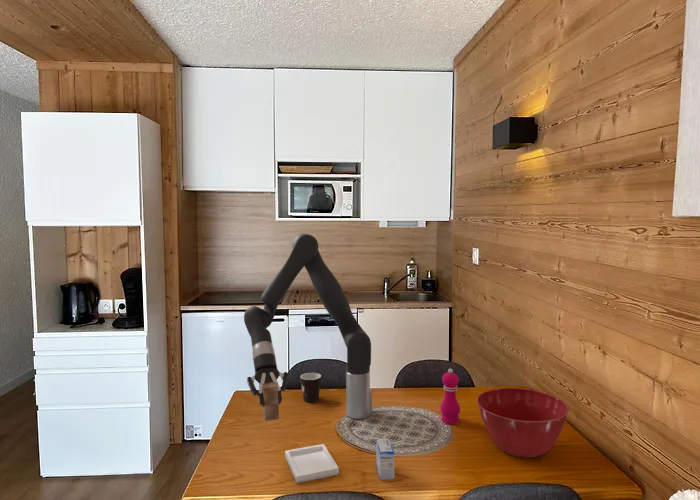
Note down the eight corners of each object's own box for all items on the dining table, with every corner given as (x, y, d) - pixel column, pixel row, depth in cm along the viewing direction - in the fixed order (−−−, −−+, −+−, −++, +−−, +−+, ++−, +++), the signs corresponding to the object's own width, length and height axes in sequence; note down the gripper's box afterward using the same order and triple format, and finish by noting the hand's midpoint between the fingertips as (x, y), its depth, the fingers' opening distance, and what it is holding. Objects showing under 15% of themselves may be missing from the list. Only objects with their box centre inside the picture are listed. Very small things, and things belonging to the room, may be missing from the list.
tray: (323, 449, 159) (323, 443, 159) (338, 474, 144) (338, 468, 144) (285, 456, 155) (285, 450, 155) (296, 483, 140) (296, 476, 140)
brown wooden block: (276, 413, 161) (275, 381, 160) (279, 418, 157) (277, 386, 156) (263, 415, 159) (261, 383, 158) (265, 421, 155) (263, 388, 154)
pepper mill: (460, 425, 176) (460, 372, 174) (440, 424, 177) (440, 371, 175) (459, 417, 183) (460, 366, 181) (440, 416, 184) (440, 365, 182)
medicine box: (376, 466, 149) (375, 439, 148) (390, 465, 149) (390, 438, 148) (379, 480, 141) (379, 452, 140) (394, 479, 141) (394, 451, 141)
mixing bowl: (459, 437, 167) (459, 394, 166) (524, 422, 177) (525, 382, 176) (515, 478, 141) (516, 428, 139) (588, 459, 151) (589, 411, 150)
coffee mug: (320, 403, 198) (320, 379, 197) (299, 403, 198) (299, 379, 197) (322, 392, 209) (322, 370, 208) (302, 392, 209) (302, 370, 209)
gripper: (243, 354, 161) (249, 403, 151) (285, 349, 166) (294, 396, 155) (242, 365, 167) (248, 412, 156) (283, 360, 171) (291, 406, 161)
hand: (271, 404), depth 156 cm, fingers closed on brown wooden block, 4 cm apart
